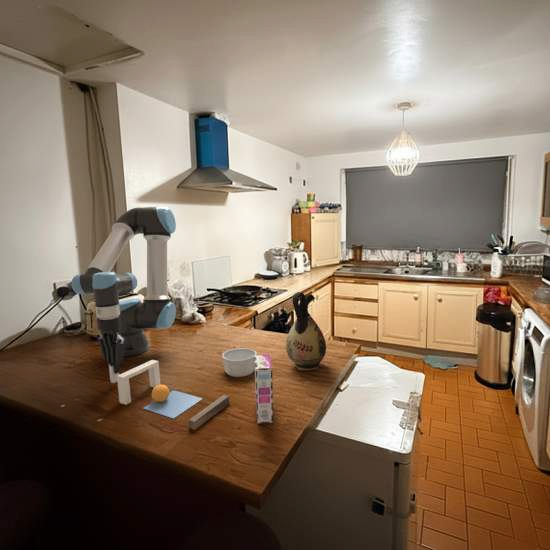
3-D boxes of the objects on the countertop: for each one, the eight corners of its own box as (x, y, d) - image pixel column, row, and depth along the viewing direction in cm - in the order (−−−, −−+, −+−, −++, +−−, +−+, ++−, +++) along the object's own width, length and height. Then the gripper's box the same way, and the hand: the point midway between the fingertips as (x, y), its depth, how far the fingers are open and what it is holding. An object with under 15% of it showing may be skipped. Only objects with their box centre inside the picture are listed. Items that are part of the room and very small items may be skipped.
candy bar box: (274, 423, 101) (272, 368, 98) (256, 424, 100) (254, 369, 98) (271, 403, 112) (269, 353, 109) (255, 404, 111) (253, 354, 109)
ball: (158, 389, 110) (160, 406, 111) (171, 382, 115) (174, 399, 115) (146, 387, 113) (149, 404, 114) (160, 381, 118) (162, 397, 118)
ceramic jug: (299, 355, 150) (298, 286, 145) (333, 363, 141) (332, 289, 136) (276, 370, 136) (274, 293, 131) (311, 379, 127) (310, 297, 123)
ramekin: (226, 364, 143) (225, 347, 142) (258, 363, 143) (258, 347, 142) (220, 379, 130) (219, 361, 129) (255, 378, 130) (255, 360, 129)
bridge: (119, 402, 115) (116, 375, 113) (154, 384, 127) (152, 359, 126) (125, 404, 113) (123, 377, 112) (160, 385, 126) (158, 361, 124)
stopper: (189, 428, 99) (188, 420, 99) (224, 402, 113) (223, 394, 113) (194, 430, 98) (194, 421, 98) (229, 403, 112) (228, 396, 112)
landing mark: (142, 408, 111) (142, 408, 111) (173, 390, 122) (173, 390, 122) (173, 418, 104) (173, 418, 104) (202, 399, 116) (202, 398, 116)
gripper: (86, 317, 123) (94, 381, 126) (111, 321, 116) (118, 389, 120) (106, 312, 129) (112, 373, 133) (130, 316, 123) (136, 380, 126)
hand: (115, 381), depth 126 cm, fingers closed
